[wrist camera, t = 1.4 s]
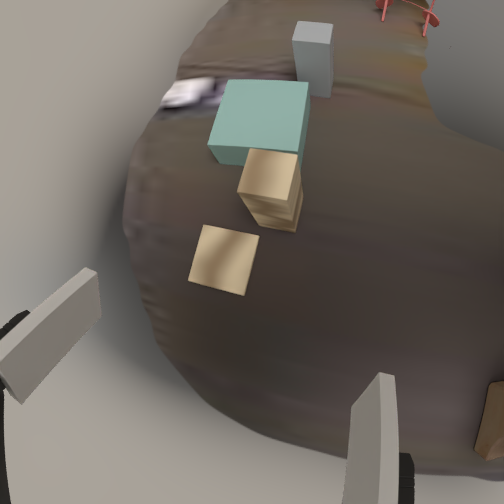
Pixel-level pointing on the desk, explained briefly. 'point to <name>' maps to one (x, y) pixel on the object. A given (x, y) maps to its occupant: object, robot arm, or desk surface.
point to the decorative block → (492, 424)
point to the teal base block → (260, 119)
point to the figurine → (386, 0)
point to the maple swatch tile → (224, 259)
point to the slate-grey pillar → (314, 56)
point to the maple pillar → (272, 189)
